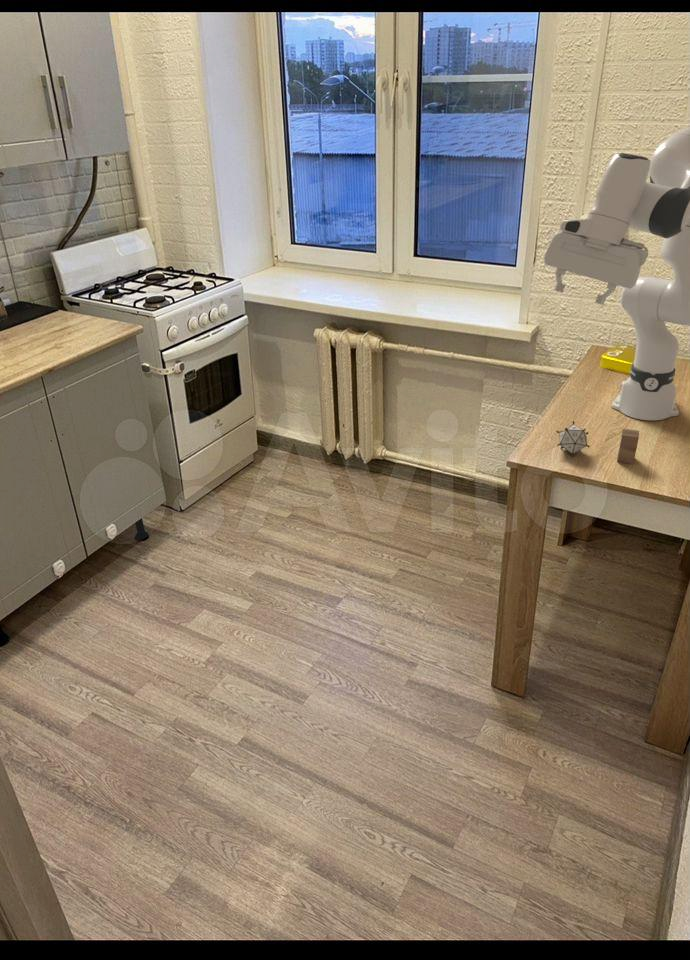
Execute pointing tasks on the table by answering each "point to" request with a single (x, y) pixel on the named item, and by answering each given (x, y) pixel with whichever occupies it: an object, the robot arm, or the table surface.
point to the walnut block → (628, 446)
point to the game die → (573, 438)
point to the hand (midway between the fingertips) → (578, 297)
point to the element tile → (618, 359)
